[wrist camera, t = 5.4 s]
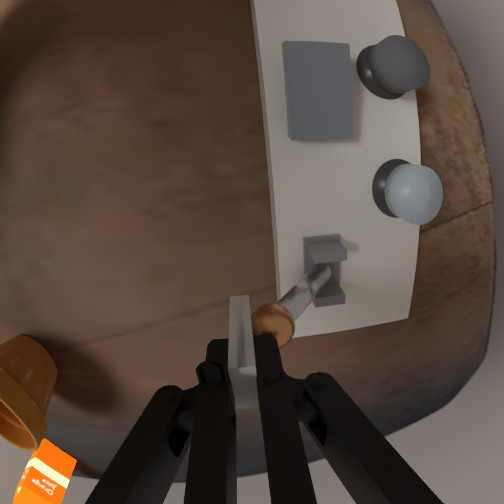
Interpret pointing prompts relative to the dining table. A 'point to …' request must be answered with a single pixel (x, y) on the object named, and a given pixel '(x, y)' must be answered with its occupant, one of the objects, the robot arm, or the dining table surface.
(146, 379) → the dining table surface
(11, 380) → the flower pot
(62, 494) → the orange juice
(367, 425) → the robot arm
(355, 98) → the console
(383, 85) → the button
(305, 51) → the block
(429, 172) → the button
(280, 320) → the lever
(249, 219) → the dining table surface
